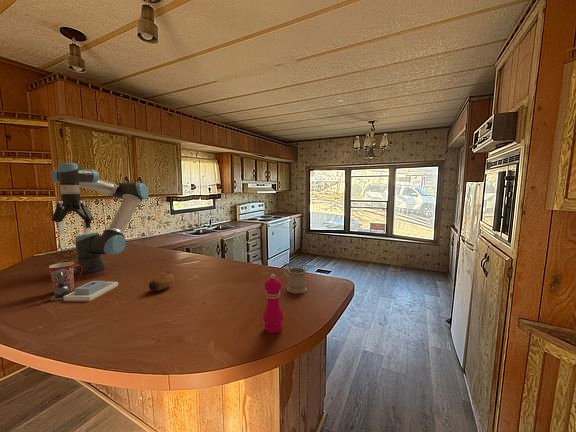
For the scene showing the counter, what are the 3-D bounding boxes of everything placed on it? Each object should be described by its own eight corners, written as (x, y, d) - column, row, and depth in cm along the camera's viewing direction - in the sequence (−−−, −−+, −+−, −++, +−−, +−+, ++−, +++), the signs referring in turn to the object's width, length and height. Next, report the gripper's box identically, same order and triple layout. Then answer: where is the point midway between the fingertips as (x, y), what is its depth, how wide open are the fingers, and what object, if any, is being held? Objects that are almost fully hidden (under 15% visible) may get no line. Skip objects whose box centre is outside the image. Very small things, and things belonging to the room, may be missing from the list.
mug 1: (56, 296, 116) (53, 268, 115) (48, 293, 121) (45, 265, 119) (88, 287, 127) (85, 261, 126) (79, 284, 132) (77, 259, 130)
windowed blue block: (89, 297, 114) (88, 288, 114) (75, 297, 114) (74, 288, 114) (107, 287, 126) (107, 279, 126) (95, 287, 126) (94, 279, 126)
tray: (95, 285, 129) (95, 281, 129) (118, 285, 129) (117, 281, 129) (63, 301, 112) (63, 296, 111) (90, 301, 111) (89, 296, 111)
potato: (156, 299, 120) (143, 290, 120) (174, 283, 132) (162, 275, 132) (161, 289, 117) (147, 280, 117) (179, 274, 129) (166, 265, 129)
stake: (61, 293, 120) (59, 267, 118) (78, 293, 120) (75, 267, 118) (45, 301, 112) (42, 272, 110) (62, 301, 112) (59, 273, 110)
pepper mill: (263, 323, 92) (262, 271, 90) (282, 322, 92) (282, 270, 90) (263, 334, 85) (262, 277, 83) (284, 333, 85) (283, 277, 83)
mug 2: (310, 288, 124) (310, 265, 123) (297, 295, 117) (297, 270, 116) (289, 281, 134) (289, 260, 133) (276, 287, 127) (276, 264, 126)
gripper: (39, 193, 124) (43, 235, 127) (88, 193, 124) (91, 235, 126) (53, 193, 132) (57, 233, 134) (100, 193, 131) (103, 233, 133)
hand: (74, 234), depth 130 cm, fingers open, 13 cm apart
